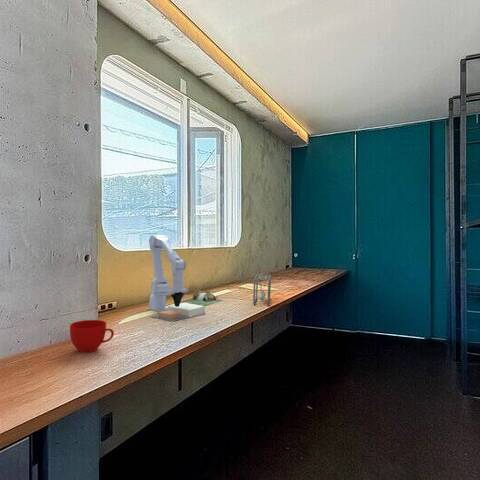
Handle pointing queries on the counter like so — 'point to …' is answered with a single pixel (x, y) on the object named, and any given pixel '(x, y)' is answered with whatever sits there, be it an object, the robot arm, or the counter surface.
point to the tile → (169, 314)
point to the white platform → (187, 309)
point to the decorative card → (202, 298)
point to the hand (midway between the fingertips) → (177, 306)
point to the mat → (170, 319)
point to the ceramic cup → (88, 334)
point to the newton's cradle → (262, 294)
